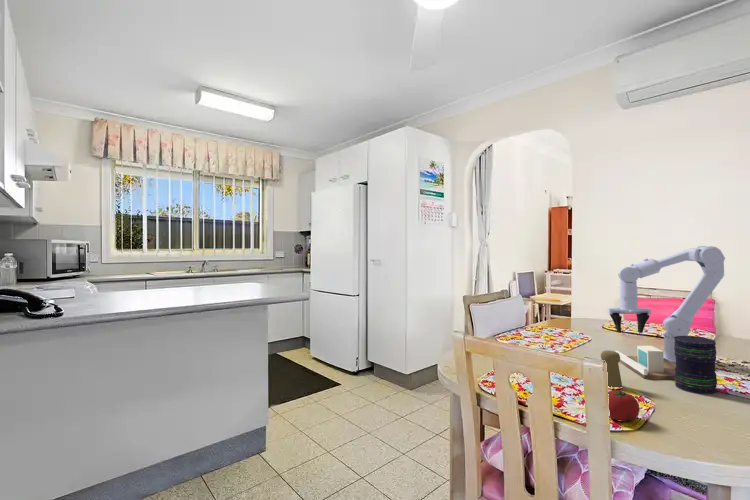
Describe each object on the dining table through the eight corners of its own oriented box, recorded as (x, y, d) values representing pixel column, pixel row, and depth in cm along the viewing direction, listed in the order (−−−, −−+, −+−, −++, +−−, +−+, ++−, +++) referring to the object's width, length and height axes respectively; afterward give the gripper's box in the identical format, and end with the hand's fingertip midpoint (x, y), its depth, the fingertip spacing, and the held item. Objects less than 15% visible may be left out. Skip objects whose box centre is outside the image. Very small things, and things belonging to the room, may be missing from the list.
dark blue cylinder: (720, 397, 109) (719, 345, 109) (677, 391, 114) (676, 341, 114) (713, 385, 117) (712, 337, 117) (672, 380, 122) (671, 334, 122)
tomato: (645, 422, 96) (645, 393, 95) (622, 428, 93) (622, 398, 93) (616, 409, 103) (615, 382, 103) (594, 414, 100) (593, 387, 100)
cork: (619, 383, 121) (618, 349, 121) (625, 390, 115) (624, 354, 115) (598, 382, 123) (597, 348, 123) (602, 388, 117) (601, 353, 117)
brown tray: (661, 359, 143) (661, 351, 143) (699, 380, 122) (699, 370, 122) (614, 358, 146) (614, 350, 146) (644, 378, 125) (643, 369, 125)
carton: (652, 365, 134) (651, 345, 134) (663, 372, 127) (663, 351, 127) (637, 365, 134) (637, 345, 134) (648, 371, 128) (647, 351, 128)
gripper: (612, 299, 146) (613, 334, 146) (654, 299, 143) (655, 334, 144) (605, 296, 153) (606, 330, 153) (645, 296, 150) (646, 330, 151)
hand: (629, 332), depth 149 cm, fingers open, 7 cm apart
